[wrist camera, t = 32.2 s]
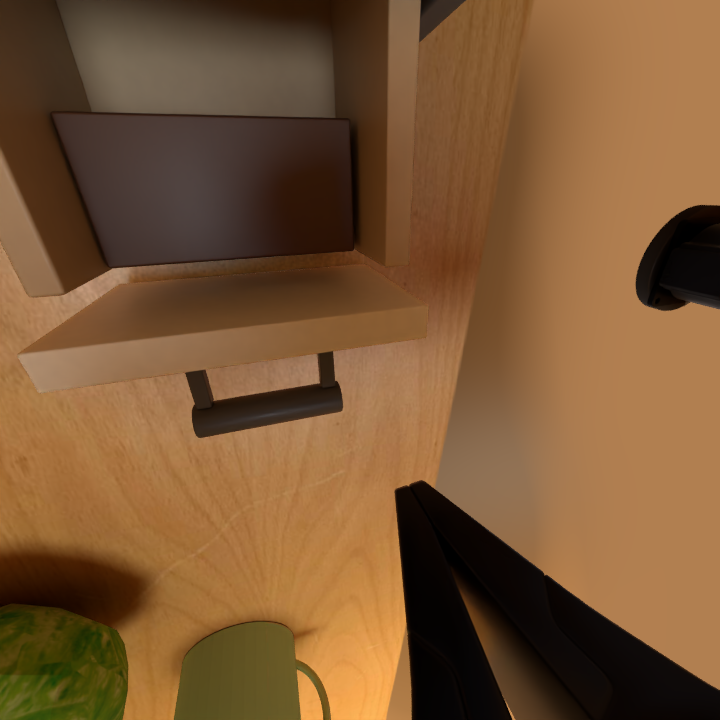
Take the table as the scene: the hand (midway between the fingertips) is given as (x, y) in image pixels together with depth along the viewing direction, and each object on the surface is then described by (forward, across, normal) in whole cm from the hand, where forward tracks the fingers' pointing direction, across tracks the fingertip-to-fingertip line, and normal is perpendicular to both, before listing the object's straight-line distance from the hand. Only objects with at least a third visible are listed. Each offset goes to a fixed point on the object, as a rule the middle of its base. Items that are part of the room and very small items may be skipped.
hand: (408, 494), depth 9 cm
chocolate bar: (+10, +3, -8) cm, 13 cm away
